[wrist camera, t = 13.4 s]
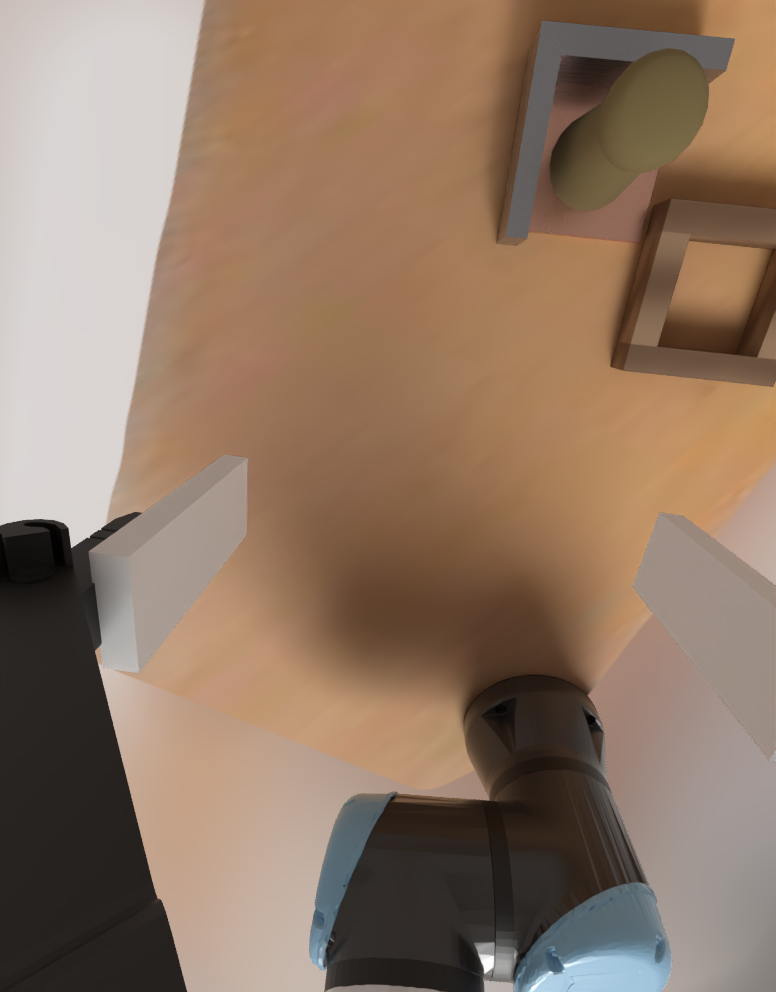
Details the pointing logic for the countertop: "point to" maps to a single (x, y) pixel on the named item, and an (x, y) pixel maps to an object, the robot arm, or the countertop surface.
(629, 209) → the corner cradle
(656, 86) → the olive stamp handle
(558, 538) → the countertop surface
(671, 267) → the socket block
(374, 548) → the countertop surface
